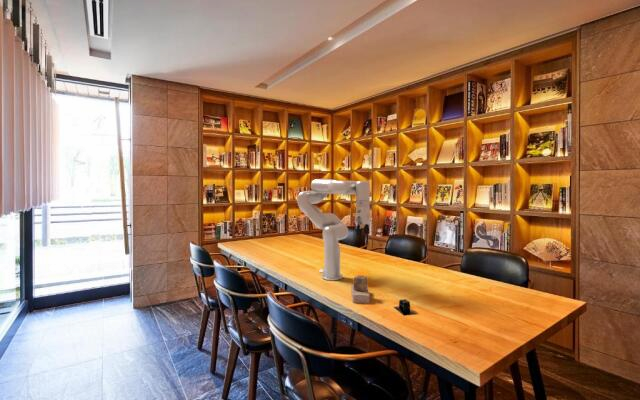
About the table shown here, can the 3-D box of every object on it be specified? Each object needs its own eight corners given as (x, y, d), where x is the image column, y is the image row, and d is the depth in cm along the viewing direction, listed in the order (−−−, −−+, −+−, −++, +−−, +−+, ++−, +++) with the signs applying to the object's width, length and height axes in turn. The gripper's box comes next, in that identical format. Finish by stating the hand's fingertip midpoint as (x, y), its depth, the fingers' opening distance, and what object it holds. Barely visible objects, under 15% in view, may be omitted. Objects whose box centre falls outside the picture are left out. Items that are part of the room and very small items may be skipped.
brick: (370, 304, 154) (370, 294, 154) (352, 304, 155) (352, 294, 155) (367, 292, 171) (367, 284, 171) (351, 292, 171) (351, 283, 171)
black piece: (390, 307, 151) (390, 296, 151) (405, 305, 153) (405, 295, 152) (404, 318, 138) (404, 306, 138) (420, 316, 140) (420, 305, 140)
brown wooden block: (353, 289, 162) (353, 277, 162) (358, 286, 166) (358, 275, 166) (363, 291, 159) (363, 279, 159) (367, 288, 163) (367, 276, 163)
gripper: (362, 204, 171) (362, 237, 172) (375, 202, 185) (375, 233, 186) (349, 204, 175) (349, 236, 176) (363, 202, 189) (363, 232, 190)
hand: (362, 234), depth 181 cm, fingers open, 9 cm apart
